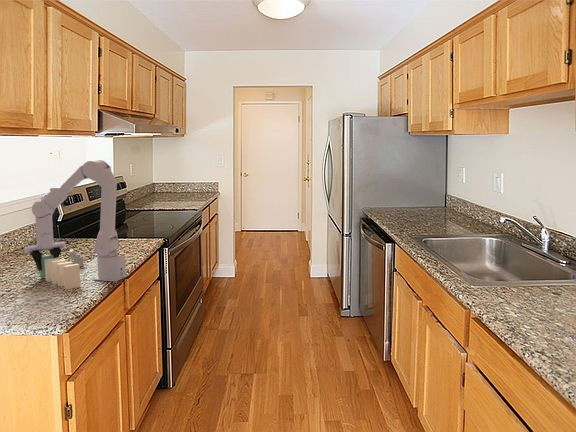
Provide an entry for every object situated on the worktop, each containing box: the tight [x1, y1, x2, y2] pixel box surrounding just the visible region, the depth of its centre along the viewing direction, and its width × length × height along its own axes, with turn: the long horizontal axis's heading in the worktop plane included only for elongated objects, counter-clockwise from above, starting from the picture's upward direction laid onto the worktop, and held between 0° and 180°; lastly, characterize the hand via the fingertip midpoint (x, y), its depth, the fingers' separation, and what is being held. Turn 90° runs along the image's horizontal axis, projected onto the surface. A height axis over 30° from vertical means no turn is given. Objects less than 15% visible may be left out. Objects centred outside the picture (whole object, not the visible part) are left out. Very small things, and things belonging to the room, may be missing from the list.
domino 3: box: [57, 261, 74, 287], centre depth 191 cm, size 2×5×8 cm, turn 138°
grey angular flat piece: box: [68, 249, 84, 268], centre depth 217 cm, size 7×2×8 cm, turn 169°
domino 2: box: [51, 259, 67, 285], centre depth 194 cm, size 2×5×8 cm, turn 138°
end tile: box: [38, 254, 54, 279], centre depth 201 cm, size 2×5×8 cm, turn 138°
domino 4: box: [63, 263, 82, 290], centre depth 187 cm, size 2×5×8 cm, turn 138°
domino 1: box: [45, 257, 61, 283], centre depth 197 cm, size 2×5×8 cm, turn 138°
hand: (46, 268), depth 201 cm, fingers closed on end tile, 5 cm apart
